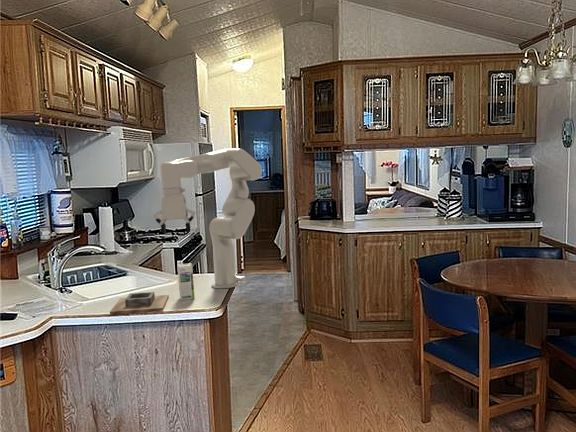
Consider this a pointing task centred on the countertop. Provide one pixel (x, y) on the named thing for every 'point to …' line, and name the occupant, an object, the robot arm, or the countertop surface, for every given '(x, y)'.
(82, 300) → the countertop surface
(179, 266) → the syrup box
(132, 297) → the socket stand
